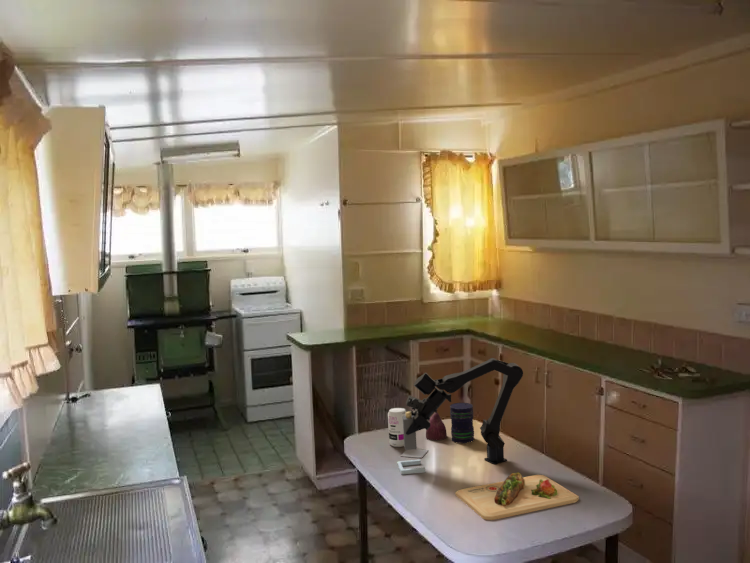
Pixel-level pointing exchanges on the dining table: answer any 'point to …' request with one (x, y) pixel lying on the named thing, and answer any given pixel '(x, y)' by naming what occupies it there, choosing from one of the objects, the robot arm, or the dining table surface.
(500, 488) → the cutting board
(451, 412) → the storage jar
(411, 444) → the plug block
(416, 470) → the blue bay
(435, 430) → the vegetable
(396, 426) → the supplement can
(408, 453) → the grey pad
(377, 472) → the dining table surface
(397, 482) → the dining table surface
